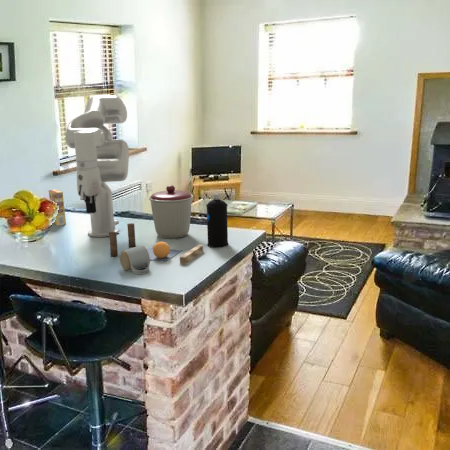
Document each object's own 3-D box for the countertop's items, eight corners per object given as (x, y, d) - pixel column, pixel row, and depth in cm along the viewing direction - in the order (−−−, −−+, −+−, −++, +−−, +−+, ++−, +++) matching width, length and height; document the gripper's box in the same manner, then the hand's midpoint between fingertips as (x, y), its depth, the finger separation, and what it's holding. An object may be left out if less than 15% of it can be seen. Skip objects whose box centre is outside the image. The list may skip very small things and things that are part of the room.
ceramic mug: (118, 268, 190) (117, 247, 188) (140, 263, 195) (139, 242, 193) (133, 277, 182) (132, 254, 180) (155, 271, 186) (154, 249, 185)
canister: (184, 242, 220) (182, 190, 215) (143, 239, 225) (140, 188, 220) (201, 231, 236) (199, 182, 231) (162, 229, 242) (159, 180, 237)
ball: (172, 257, 202) (158, 255, 204) (173, 241, 201) (159, 239, 204) (163, 260, 197) (149, 258, 199) (164, 243, 196) (149, 241, 198)
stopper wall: (198, 251, 208) (197, 244, 207) (203, 251, 207) (202, 245, 207) (180, 264, 193) (179, 257, 193) (185, 264, 193) (185, 257, 192)
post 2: (130, 245, 218) (129, 223, 215) (136, 246, 217) (135, 223, 214) (127, 247, 215) (126, 224, 213) (133, 247, 214) (132, 225, 212)
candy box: (66, 224, 253) (63, 191, 250) (57, 226, 251) (53, 192, 248) (60, 221, 261) (57, 188, 257) (51, 222, 258) (48, 190, 255)
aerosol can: (231, 243, 218) (230, 192, 213) (223, 248, 210) (221, 196, 206) (212, 241, 221) (211, 191, 216) (203, 246, 214) (201, 195, 209)
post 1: (113, 255, 206) (111, 231, 203) (119, 255, 205) (117, 231, 203) (109, 257, 203) (107, 233, 201) (115, 257, 202) (113, 233, 200)
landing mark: (148, 247, 214) (148, 247, 214) (182, 250, 209) (182, 250, 209) (130, 258, 201) (130, 257, 201) (165, 261, 196) (165, 261, 196)
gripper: (84, 168, 199) (88, 218, 204) (106, 161, 212) (110, 208, 217) (66, 167, 201) (71, 216, 206) (89, 160, 215) (93, 207, 220)
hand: (91, 212), depth 212 cm, fingers closed
